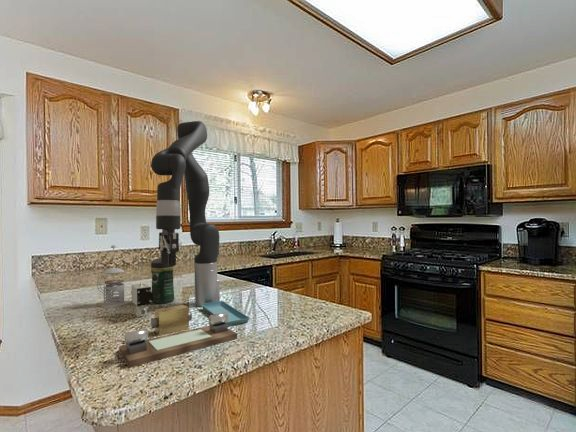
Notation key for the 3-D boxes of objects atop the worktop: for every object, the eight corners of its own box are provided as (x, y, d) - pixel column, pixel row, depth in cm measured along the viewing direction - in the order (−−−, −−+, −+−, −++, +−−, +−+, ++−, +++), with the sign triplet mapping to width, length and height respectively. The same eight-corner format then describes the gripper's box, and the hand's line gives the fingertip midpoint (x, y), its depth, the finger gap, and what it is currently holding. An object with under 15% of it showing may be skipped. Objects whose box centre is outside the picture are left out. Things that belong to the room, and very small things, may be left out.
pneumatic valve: (138, 320, 115) (138, 286, 115) (131, 313, 124) (130, 281, 124) (155, 317, 118) (154, 284, 118) (146, 310, 127) (146, 279, 127)
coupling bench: (219, 328, 105) (218, 307, 105) (237, 338, 96) (236, 316, 96) (119, 351, 87) (119, 327, 88) (129, 367, 78) (128, 340, 78)
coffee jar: (177, 301, 141) (176, 258, 141) (160, 305, 135) (160, 260, 135) (164, 298, 147) (164, 257, 147) (148, 302, 141) (147, 258, 141)
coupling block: (187, 324, 109) (187, 303, 109) (192, 328, 106) (192, 306, 106) (150, 333, 102) (149, 310, 102) (154, 337, 98) (153, 313, 98)
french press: (119, 307, 133) (118, 245, 133) (91, 307, 133) (90, 246, 134) (131, 301, 143) (130, 244, 143) (105, 301, 143) (104, 244, 143)
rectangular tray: (250, 323, 110) (250, 316, 110) (224, 328, 106) (224, 321, 106) (223, 306, 133) (222, 300, 133) (200, 310, 128) (200, 304, 128)
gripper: (187, 214, 103) (186, 266, 102) (173, 215, 114) (173, 262, 114) (162, 213, 98) (162, 267, 98) (151, 215, 110) (150, 263, 110)
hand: (168, 264), depth 106 cm, fingers open, 8 cm apart
